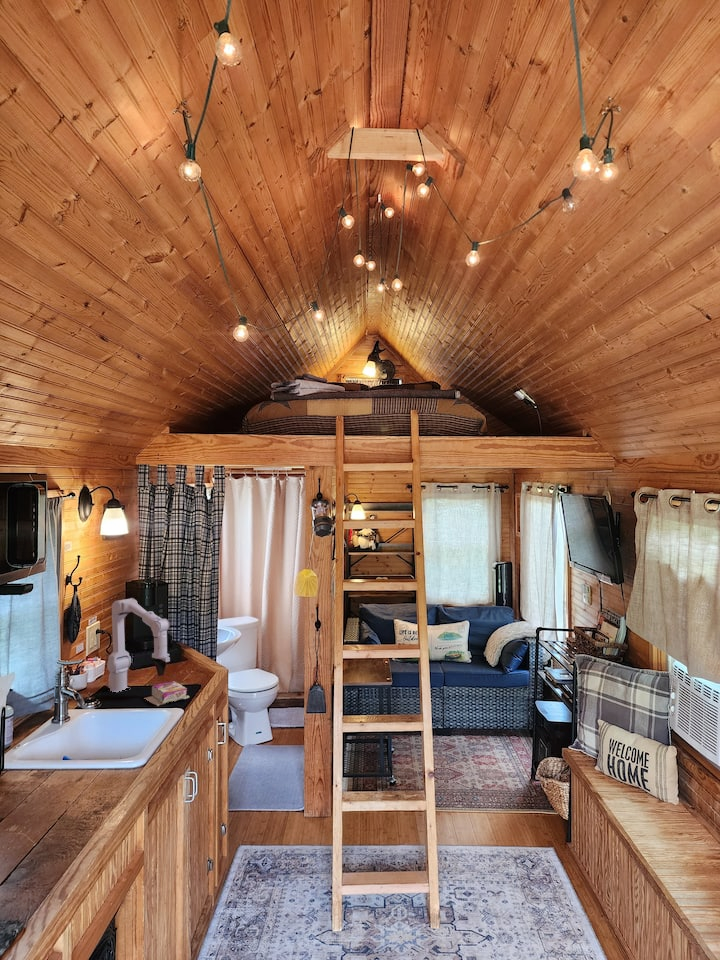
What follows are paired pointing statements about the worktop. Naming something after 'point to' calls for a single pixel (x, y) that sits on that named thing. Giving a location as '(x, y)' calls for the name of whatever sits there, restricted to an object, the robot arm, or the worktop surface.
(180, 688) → the candy bar box
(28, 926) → the worktop surface
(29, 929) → the worktop surface
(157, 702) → the mat
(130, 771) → the worktop surface
